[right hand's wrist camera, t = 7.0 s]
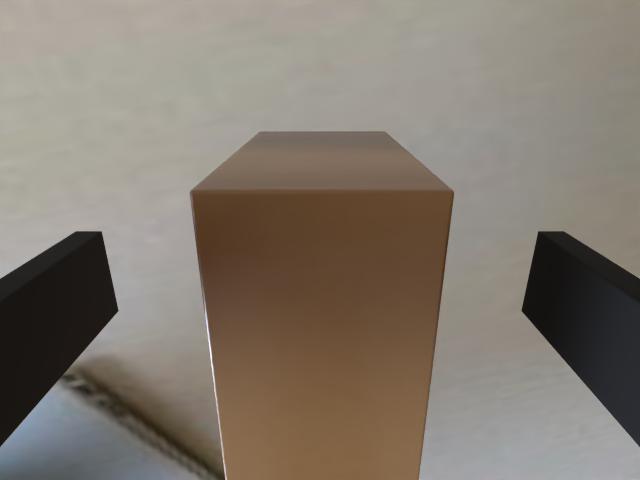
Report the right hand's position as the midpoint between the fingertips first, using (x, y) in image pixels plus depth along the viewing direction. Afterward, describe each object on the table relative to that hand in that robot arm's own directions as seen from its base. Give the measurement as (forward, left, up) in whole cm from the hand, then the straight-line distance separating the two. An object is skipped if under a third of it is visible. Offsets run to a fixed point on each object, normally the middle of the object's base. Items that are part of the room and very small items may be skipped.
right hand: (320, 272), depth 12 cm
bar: (0, +9, -5) cm, 10 cm away
